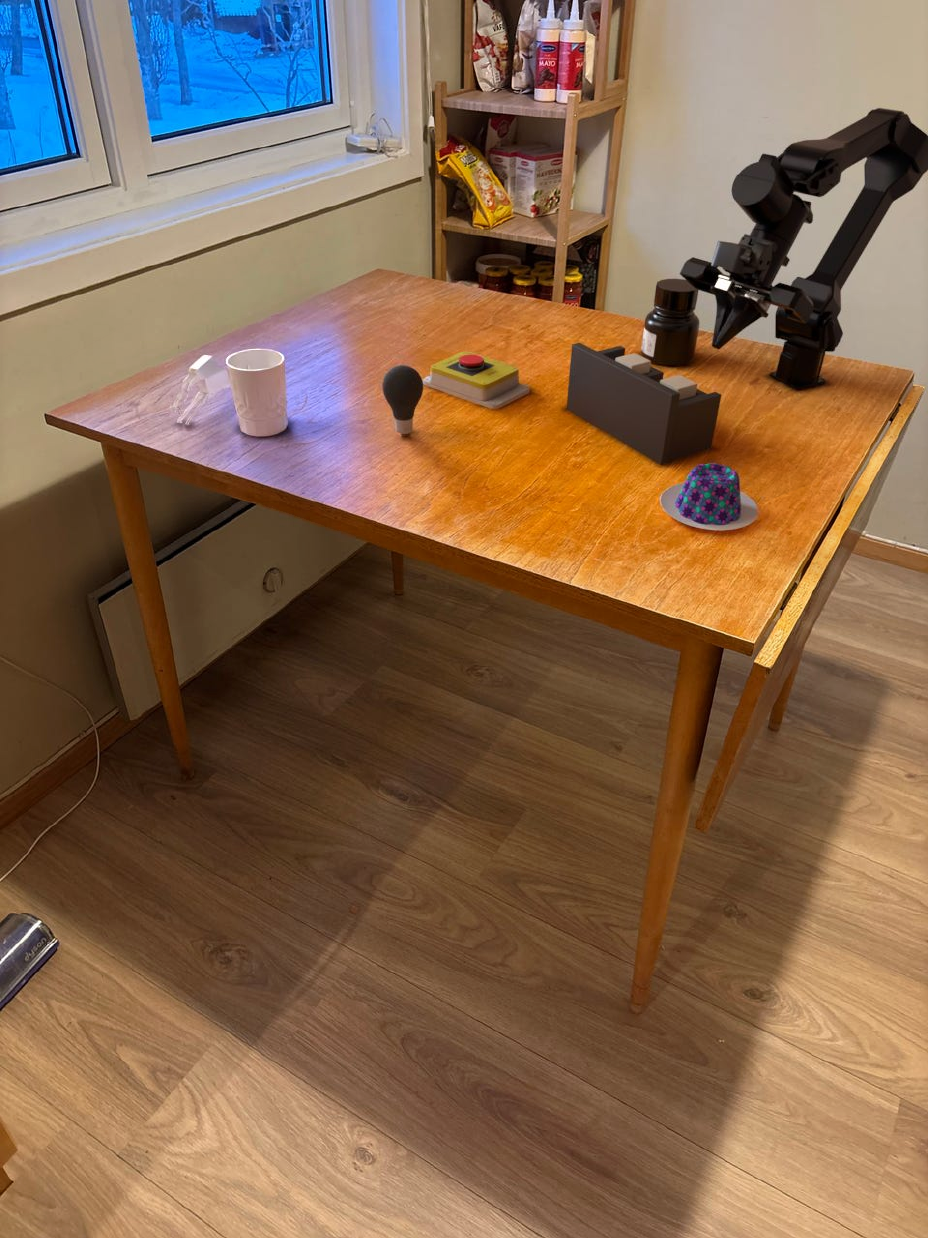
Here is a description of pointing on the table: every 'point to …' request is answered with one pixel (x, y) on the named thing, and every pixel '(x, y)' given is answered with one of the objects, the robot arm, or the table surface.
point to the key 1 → (635, 362)
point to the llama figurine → (202, 384)
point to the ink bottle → (671, 324)
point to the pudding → (710, 499)
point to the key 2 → (681, 386)
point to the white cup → (259, 391)
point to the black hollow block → (638, 406)
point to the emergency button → (477, 380)
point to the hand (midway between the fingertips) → (715, 347)
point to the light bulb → (403, 395)
